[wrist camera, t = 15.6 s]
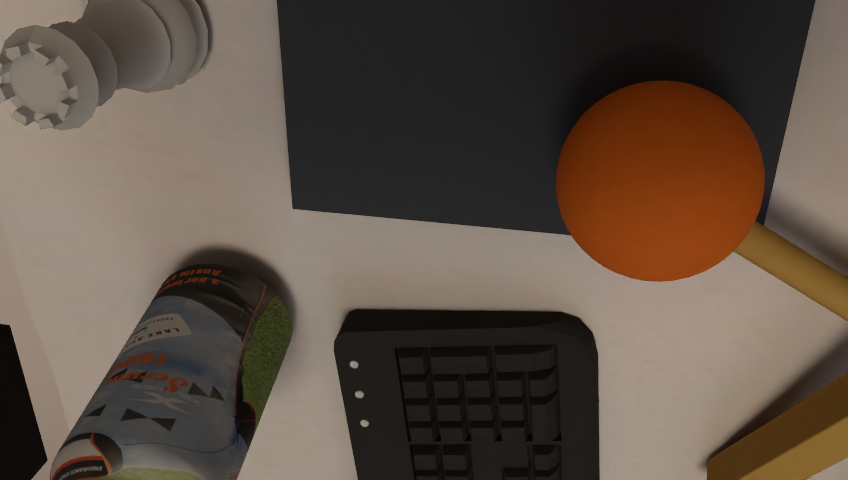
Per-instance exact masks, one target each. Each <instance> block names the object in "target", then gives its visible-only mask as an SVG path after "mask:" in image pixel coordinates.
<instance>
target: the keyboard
mask: <svg viewBox="0 0 848 480" xmlns="http://www.w3.org/2000/svg"><path fill="white" fill-rule="evenodd" d="M334 354H335V359H336V364H337V369H338V375H339V380H340V385H341V391H342V396H343V401H344V407H345V412H346V417H347V423H348V428H349V433H350V439H351V444H352V449H353V455H354V460H355V465H356V471H357V476H358V480H599V400H598V353H597V349H596V345H595V341H594V337H593V333H592V332H591V331H590V330H589V329H588V328H587V327H586V325H585V324H584V323H583V322H582V321H581V320H580V319H579V318H577V317H574V316H571V315H568V314H565V313H561V312H508V311H433V310H358V309H357V310H354V311H351V312H349V314H348V315H347V317H346V318H345V321H344V323H343V325H342V327H341V329H340V331H339V333H338V335H337V337H336V339H335V341H334Z"/></svg>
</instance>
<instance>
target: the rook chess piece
mask: <svg viewBox="0 0 848 480" xmlns="http://www.w3.org/2000/svg"><path fill="white" fill-rule="evenodd" d="M207 43H208V29H207V26H206V23H205V20H204V17H203V14H202V11H201V8H200V6H199V5H198V3H197V2H196V1H195V0H89V1H88V4H87V6H86V9H85V12H84V14H83V17H82V18H81V19H79V20H78V21H76V22H75V23H72V22H67V21H66V22H61V23H57V24H52V25H51V26H50V27H49V28H47V27H42V26H38V25H33V26H29V27H25V28H20V29H17V30H16V31H15V32H14V33H13V34H12V35H11V36H10V37H9V38H8V39H7V40H5V43H4V46H3V49H2V52H1V55H0V75H1V79H2V83H1V84H0V103H1V102H3V101H5V100H7V99H10V100H11V101H12V103H13V104H14V105H15V106H16V107H17V108H18V109H17V110H15V111H14V113H13V114H12V116H11V117H12V118H14V119H16V120H17V121H19V122H20V123H22V124H24V125H25V126H26V125H28V124H30V123H31V122H33V121H36V122H38V123H39V125H40V129H45V128H54V129H59V130H66V129H72V128H78V127H80V126H81V125H83V124H84V123H85V122H86V121H88V120H89V119H90V118H91V117H92V116H93V113H94V111H95V109H96V106H101V105H102V104H104V103H105V102H106V101H107V100H109V99H110V98H111V97H112V95H113V93H114V91H115V90H117V89H121V88H124V87H125V88H129V89H133V90H137V91H142V92H146V93H148V92H156V91H161V90H167V89H172V88H173V87H174V86H175V85H178V84H183V83H184V82H185V81H187V80H188V79H189V78H191V77H192V76H193V75H195V74H196V73H197V72H198V71H199V69H200V67H201V65H202V63H203V61H204V59H205V56H206V54H207Z"/></svg>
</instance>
